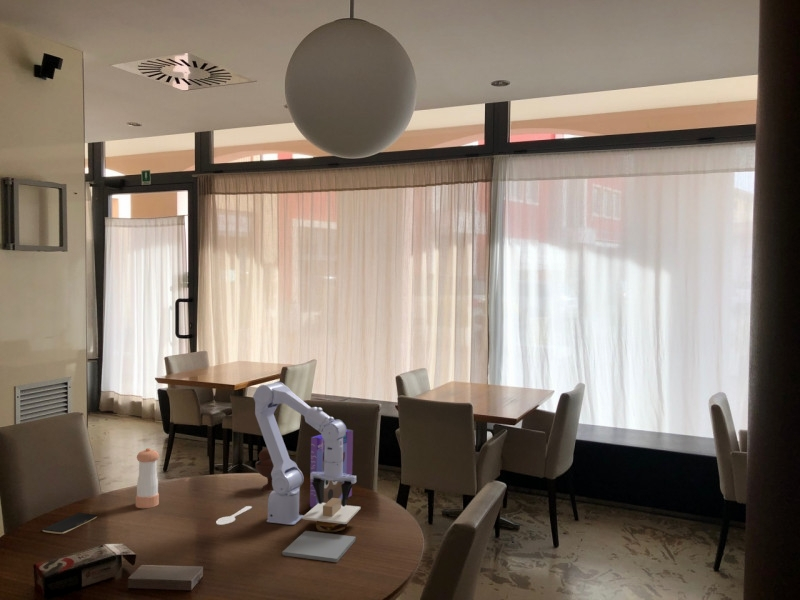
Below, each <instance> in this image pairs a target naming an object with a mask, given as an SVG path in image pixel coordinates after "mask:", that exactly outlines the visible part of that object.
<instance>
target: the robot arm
mask: <svg viewBox="0 0 800 600" xmlns="http://www.w3.org/2000/svg"><path fill="white" fill-rule="evenodd" d="M252 397H253V400H254V403H255V404H254V405H255V406H254V409H255V411H254V415H255V418H256V421H257V423H258V427H259V429H260V432H261V435H262V437H263V440H264V442H265V445H266V448H268V451H269V454H270V457H271V460H272V462H273V465H274V467H273V470H272V472H271V476H272V486H273V489H274V490H271V492H270V493H269V496H268V500H267V519H266V523H273V524H281V525H289V526H294V525H296V524H297V523H298V522H299V521H301V520H303V519H302V517H303V516H304V515H303V514H300V513H299V512H300V489H301V486H302V485H303V483H304V479H305V478H304V474H303V472H302V471H301V469H300V468H299V467H298V465H297V463H296V462H295V461H294V460H292V459H291V458H290V455H289V452H288V449H287V447H286V444H285V442H284V438H283V436H282V434H281V430H280V428H279V425H278V423H277V420H276V416H275V415H274V414H275V412H276V409H277V408H278V406H279V405H281V404H282V405H283V404H284V405H286V406H287V407H290V408H291V409H292V410H294V411H295V412H297V413H298V414H300V415H301V416H303V418H304V420H305V421H304V422H305V423H306V424H308V425H309V426H311V427H312V428H313V429H314V430H316V431H318V432H319V433H320V435H322V438H323V439H324V445H325V452H324V472H312V473H311V472H310V477H309V479H312V480H313V482H312V485H313V487H314V488H315V491H316V493H317V496H318V501H319V504H322V503H323V501H324V483H325V480H329V481H339V482H344V483H343V484H342V485H341V487H342V501H341V505H342V506H346V505H347V503H348V499H349V498H348V496H349V493H350V490H351V488H352V489H353V487H354V486H353V485H354V484H356V483H357V475H353V474H352V475H349V474H344V473H343V438H342V437H344V436H345V434H346V429H347V426H346V424H345V423H344V422H343V420H341V419H335V418H334V417H333V416H330V415H329V414H327V413H326V412H324V411H323V408H322V407H320V406H319V407H317V406H312V407H311V406H310V405H308V403H306V402H305V401H304V400H302V399H301V398H300V397H299V396H298V395H297V394H295V393H294V392H293V391H292V390H291V389H290V387H289V386H287V385H285V383H283V382H281V381H275V382H272V383H267V384H261V385H259V386H257V388H256V389H255V391H254V394H253V395H252ZM340 438H341V439H340Z"/></svg>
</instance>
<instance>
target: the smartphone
mask: <svg viewBox="0 0 800 600" xmlns="http://www.w3.org/2000/svg"><path fill="white" fill-rule="evenodd" d="M97 517H98V515H97V514H92V513H85V512H84V513H83V512H77V513H75V514H72V515H71V516H69V517H65V518H64V519H62V520H59V521H57V522H55V523H53V524H50V525H48V526H46V527H44V528H42V532H44V533H49V534H50V533H51V534H57V535H58V534H59V535H61V534H63V535H64V534H66V533H68V532H70V531H72V530H74V529H77V528H78V527H80V526H82V525H84V524H87V523H89V522H91V521H92V520H95V519H97Z"/></svg>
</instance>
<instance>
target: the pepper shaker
mask: <svg viewBox="0 0 800 600" xmlns="http://www.w3.org/2000/svg"><path fill="white" fill-rule="evenodd" d="M159 458H160V454H159V452H158V451H157V450H154V449H151V448H149V447H146V448H145V449H144V450H141V451H140V452H138V453H137V456H136V460H137V462H138V463H139V464H138V477H137V484H136V495H135V508H137V509H151V508H154V507H156V506H158V505H159V504H160V494H159V480H158V474H157V473H158V472H157V467H158V466H157V465H158V462H157V460H158V459H159Z"/></svg>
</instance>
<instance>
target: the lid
mask: <svg viewBox="0 0 800 600" xmlns="http://www.w3.org/2000/svg"><path fill="white" fill-rule="evenodd" d="M360 510H361V506H357V505H349V504H348V505H346V506H342V501H341V499H340V498H331V499H330V500H329V501H328V502H327V503H322V504H319V503H318V504H317V505H316V506H315V507H313V508H310V510H309V511H308V512H306V513H305V514H304V515H303V517H302V519H301V520H307V521H315V522H317V521H322V522H331V523H339V524H347V525H348V523H349V522H350V521H351V519H352V518H353V517H354V516H355V515H356V514H357V513H358V512H359V511H360Z"/></svg>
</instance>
